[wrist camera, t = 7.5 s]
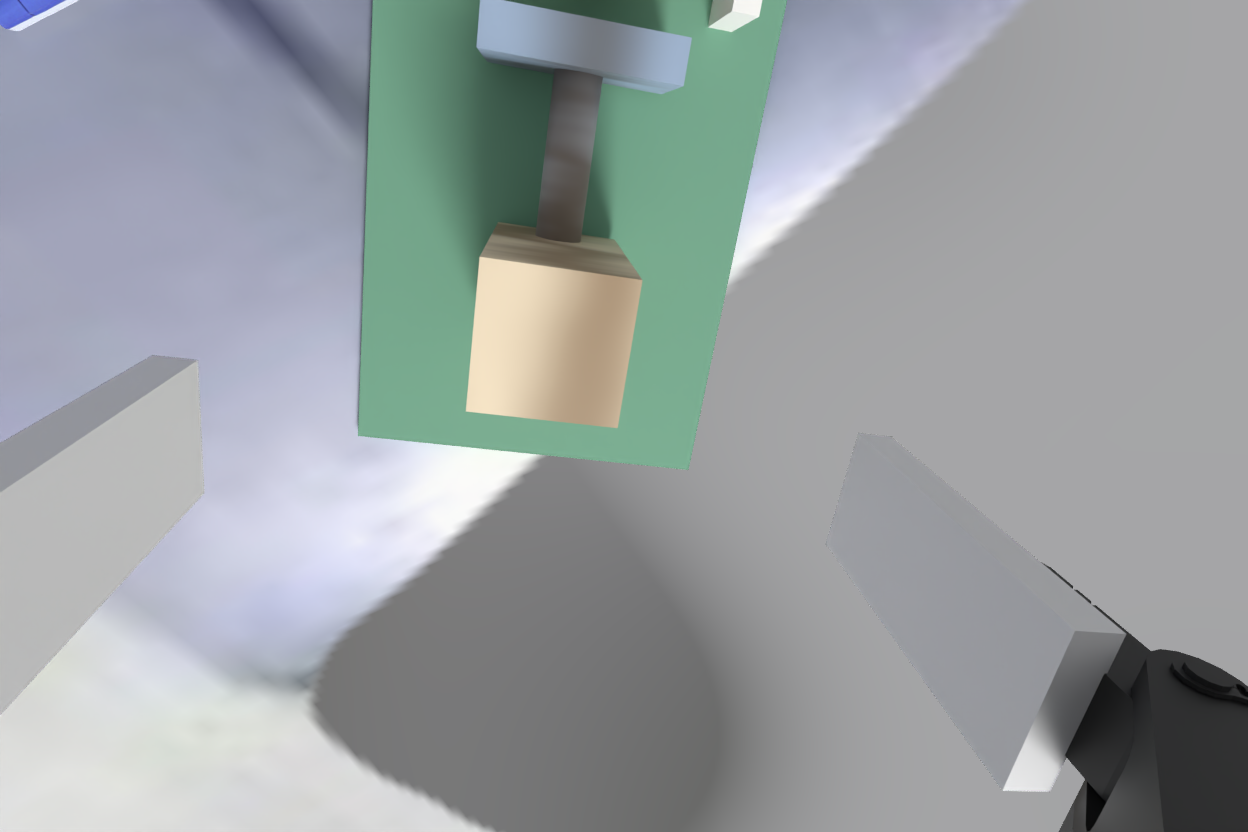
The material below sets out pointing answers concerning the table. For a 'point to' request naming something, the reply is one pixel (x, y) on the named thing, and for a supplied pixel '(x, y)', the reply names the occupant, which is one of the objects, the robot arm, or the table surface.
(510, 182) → the pitch mat
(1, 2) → the blue flat square slab
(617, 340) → the rod slider
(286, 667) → the table surface
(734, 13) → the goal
